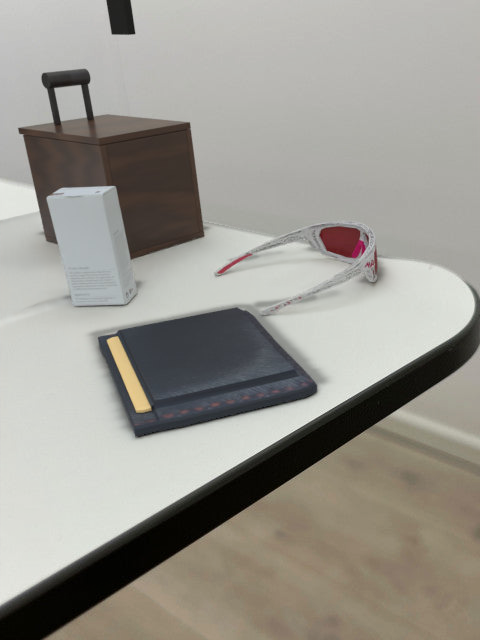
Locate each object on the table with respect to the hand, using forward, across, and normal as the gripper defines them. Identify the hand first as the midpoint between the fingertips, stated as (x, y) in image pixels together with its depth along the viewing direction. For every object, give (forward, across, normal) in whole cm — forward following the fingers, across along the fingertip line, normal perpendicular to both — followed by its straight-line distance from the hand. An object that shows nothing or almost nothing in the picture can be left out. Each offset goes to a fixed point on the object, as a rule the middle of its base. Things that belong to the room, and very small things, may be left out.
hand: (57, 39), depth 67 cm
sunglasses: (+27, +20, -8) cm, 34 cm away
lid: (+12, +19, +25) cm, 34 cm away
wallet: (+26, -2, -16) cm, 31 cm away
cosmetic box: (+27, +3, +6) cm, 27 cm away
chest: (+27, +19, +25) cm, 41 cm away
